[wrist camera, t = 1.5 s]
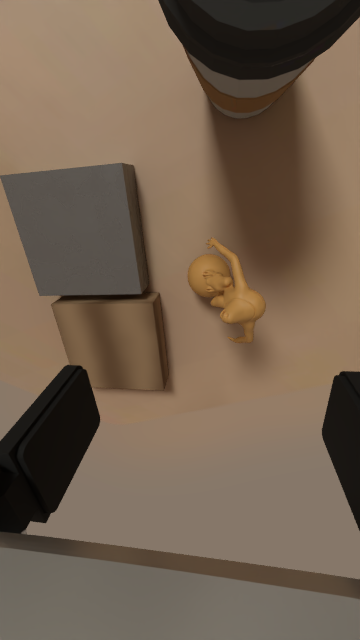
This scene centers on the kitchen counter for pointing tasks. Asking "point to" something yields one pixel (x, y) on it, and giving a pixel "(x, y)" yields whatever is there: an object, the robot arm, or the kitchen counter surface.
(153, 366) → the walnut stand
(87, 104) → the kitchen counter surface
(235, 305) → the figurine
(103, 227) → the grey metal stand
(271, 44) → the coffee cup
